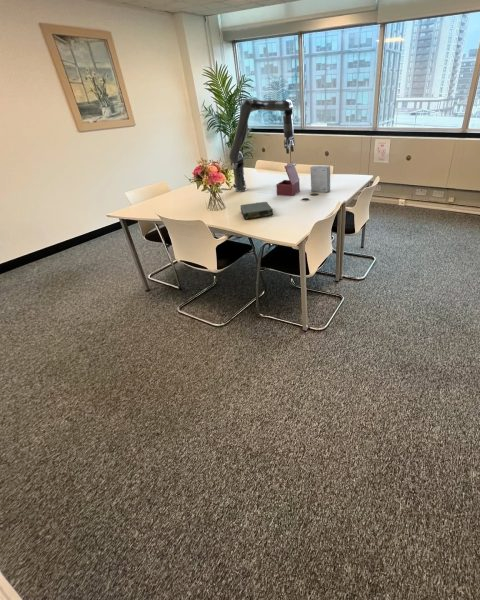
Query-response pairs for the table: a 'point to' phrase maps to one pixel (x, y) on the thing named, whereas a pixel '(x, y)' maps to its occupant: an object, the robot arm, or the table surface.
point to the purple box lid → (292, 173)
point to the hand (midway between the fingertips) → (290, 152)
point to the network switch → (256, 210)
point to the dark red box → (287, 188)
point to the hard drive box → (320, 178)
